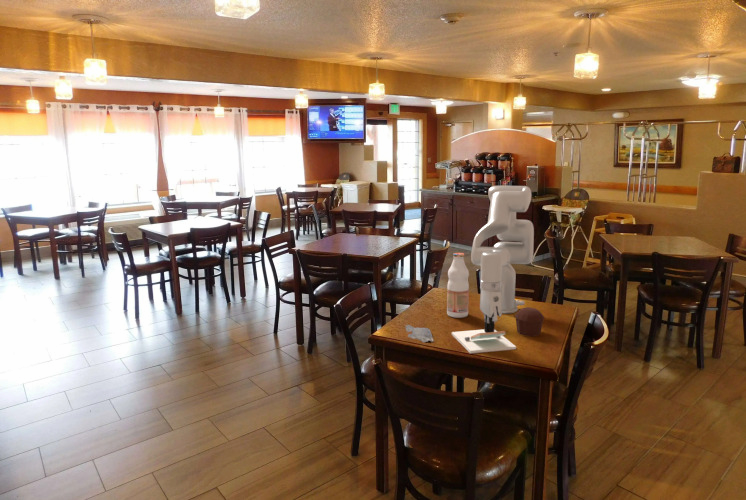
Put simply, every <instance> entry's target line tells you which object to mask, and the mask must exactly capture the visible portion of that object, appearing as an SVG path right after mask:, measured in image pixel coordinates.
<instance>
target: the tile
mask: <svg viewBox="0 0 746 500" xmlns="http://www.w3.org/2000/svg"><path fill="white" fill-rule="evenodd" d="M504 335H506V331H505V330H501V331H497V332H487V333H479V334H476V335H474V336H471V340H475V339H487V338H496V337H499V336H504Z"/></svg>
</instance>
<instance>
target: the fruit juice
mask: <svg viewBox="0 0 746 500" xmlns="http://www.w3.org/2000/svg"><path fill="white" fill-rule="evenodd" d="M452 257H453V259H452V262H451V265H450V267H449V269H448V271H447V277H448V282H447V287H446V288H447V290H446V292H447V295H446V313H447V315H448V316H449V317H451V318H456V319H457V318H460V319H461V318H466V317H468V315H469V301H470V300H469V298H470V297H469V296H470V295H469V294H470V293H469V291H470V285H469V281H468V278H469V276H470V271H469V269H468V268H467V266H466V263H465V259H464V258H465V253H464V252H454V253H452Z"/></svg>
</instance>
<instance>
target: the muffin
mask: <svg viewBox="0 0 746 500" xmlns="http://www.w3.org/2000/svg"><path fill="white" fill-rule="evenodd" d="M514 318H515V321H516V322H515V324H516V333H518V334H519V335H522V336H525V337H536V336H537V337H538V336H540V335H541V332H542V327H543V323H544V321H545V318H546V317H545V316H544V315H543V314H542V312H541V311H540V310H538V309H537V308H534V307H522V308H521V309H518V311H517V312H516V313H515V314H514Z"/></svg>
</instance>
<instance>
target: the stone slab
mask: <svg viewBox="0 0 746 500" xmlns="http://www.w3.org/2000/svg"><path fill="white" fill-rule="evenodd" d="M405 330H406V331H405V332H406V333H408V334H407V338H410V339H413V340H415V339H416V340H418V341H421V343H426V342H429V341H430V342H432V343H434V342H435V340H434V338H433V337H434V336H433V335H432V331H431V329H430V328H428V327H414V326H412V325H410V324H406V325H405ZM409 332H410V333H409Z"/></svg>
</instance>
